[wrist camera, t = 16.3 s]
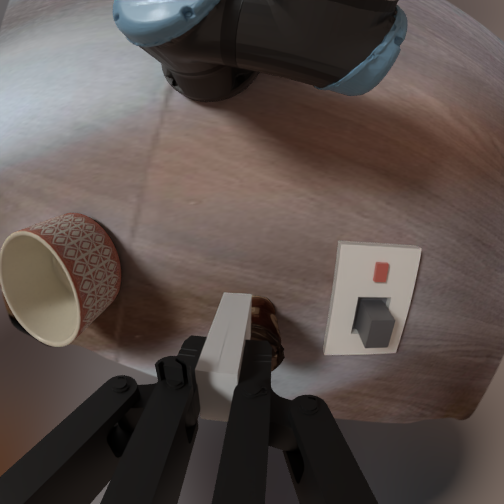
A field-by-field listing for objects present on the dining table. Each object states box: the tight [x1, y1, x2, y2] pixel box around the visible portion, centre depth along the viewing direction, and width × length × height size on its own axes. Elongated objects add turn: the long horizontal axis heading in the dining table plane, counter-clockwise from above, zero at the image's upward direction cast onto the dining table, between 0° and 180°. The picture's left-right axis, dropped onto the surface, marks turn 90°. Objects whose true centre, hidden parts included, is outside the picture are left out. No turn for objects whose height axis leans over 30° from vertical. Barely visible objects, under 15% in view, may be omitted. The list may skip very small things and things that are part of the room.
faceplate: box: [323, 241, 422, 355], centre depth 45 cm, size 20×14×3 cm
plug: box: [355, 300, 395, 348], centre depth 44 cm, size 5×4×7 cm
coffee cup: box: [250, 296, 285, 372], centre depth 43 cm, size 9×8×13 cm
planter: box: [0, 213, 121, 347], centre depth 42 cm, size 19×19×15 cm
